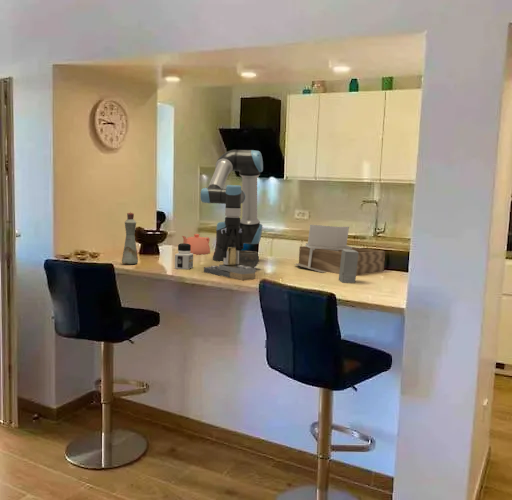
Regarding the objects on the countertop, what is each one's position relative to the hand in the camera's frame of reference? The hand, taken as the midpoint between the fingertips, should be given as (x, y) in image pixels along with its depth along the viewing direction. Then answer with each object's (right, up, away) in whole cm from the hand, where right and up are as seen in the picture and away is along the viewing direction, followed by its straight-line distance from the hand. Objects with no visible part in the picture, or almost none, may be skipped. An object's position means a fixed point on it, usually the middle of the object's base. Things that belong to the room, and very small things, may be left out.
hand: (231, 263), depth 281 cm
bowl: (+6, -4, +21) cm, 23 cm away
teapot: (-26, +3, +82) cm, 86 cm away
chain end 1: (-4, -5, +5) cm, 8 cm away
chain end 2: (+3, -6, -3) cm, 8 cm away
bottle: (-57, -1, +31) cm, 64 cm away
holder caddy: (+59, -4, +36) cm, 70 cm away
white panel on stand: (+50, -3, +38) cm, 63 cm away
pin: (0, -6, +1) cm, 6 cm away
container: (-26, -3, +21) cm, 33 cm away
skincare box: (+56, -9, -7) cm, 57 cm away
